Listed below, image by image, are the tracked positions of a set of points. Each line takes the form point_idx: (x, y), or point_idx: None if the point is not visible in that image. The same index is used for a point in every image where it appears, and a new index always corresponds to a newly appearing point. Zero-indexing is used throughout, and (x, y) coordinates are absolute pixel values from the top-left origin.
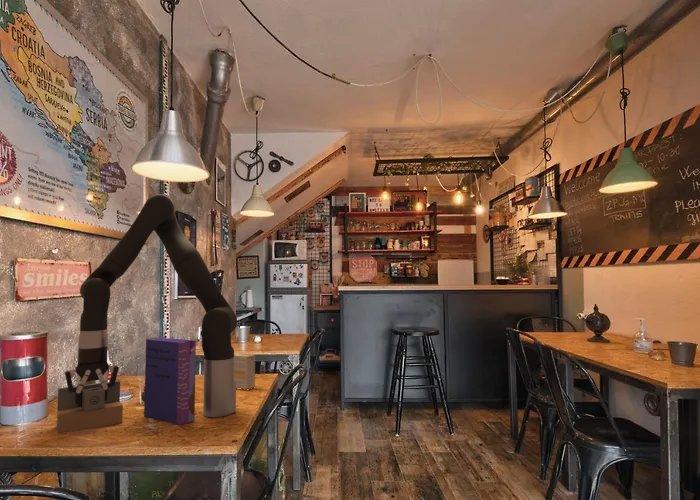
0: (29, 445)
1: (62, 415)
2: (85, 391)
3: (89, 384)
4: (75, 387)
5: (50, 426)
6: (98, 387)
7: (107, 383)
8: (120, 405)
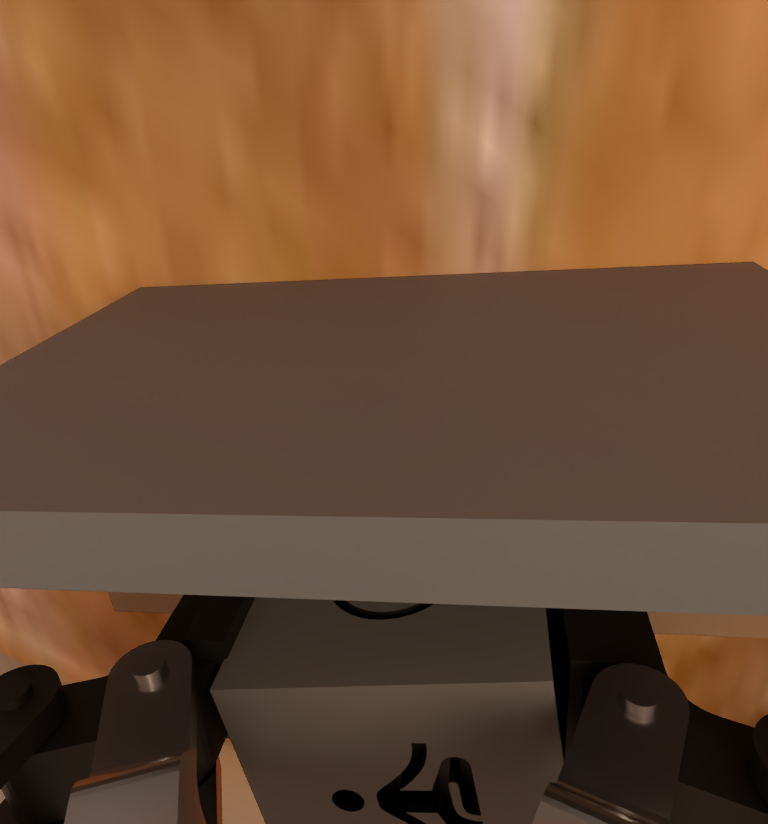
0: (69, 629)
1: (152, 604)
2: (291, 820)
3: (332, 532)
4: (91, 758)
5: (78, 222)
6: (512, 701)
7: (702, 813)
8: (754, 632)
